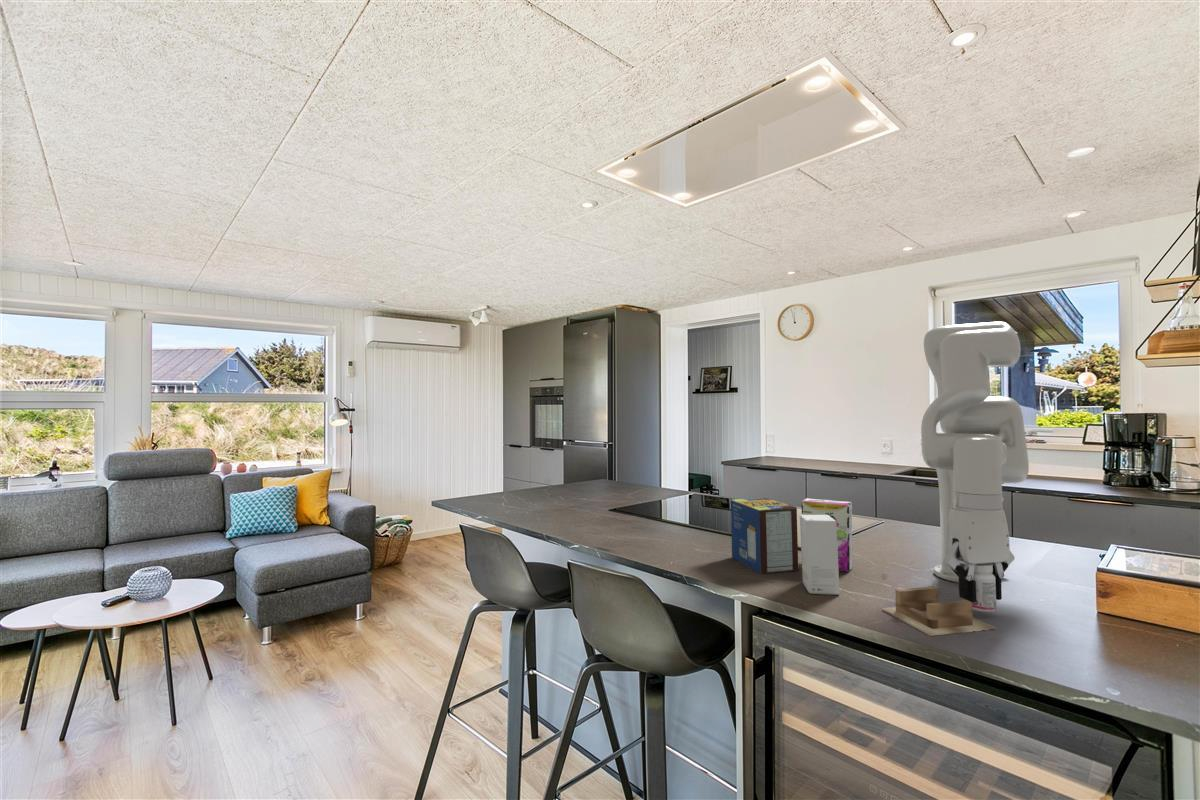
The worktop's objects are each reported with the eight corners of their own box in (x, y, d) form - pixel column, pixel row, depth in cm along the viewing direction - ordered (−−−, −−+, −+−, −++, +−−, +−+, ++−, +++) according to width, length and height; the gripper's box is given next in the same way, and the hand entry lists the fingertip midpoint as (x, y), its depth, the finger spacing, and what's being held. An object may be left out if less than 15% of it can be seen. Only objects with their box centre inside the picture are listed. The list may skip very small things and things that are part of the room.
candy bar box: (801, 566, 133) (800, 500, 134) (805, 561, 138) (804, 497, 138) (850, 573, 127) (849, 504, 128) (853, 567, 132) (852, 501, 132)
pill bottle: (959, 603, 103) (958, 559, 103) (982, 602, 103) (981, 558, 103) (978, 613, 98) (977, 567, 98) (1002, 611, 99) (1001, 566, 99)
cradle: (940, 605, 106) (939, 583, 106) (994, 629, 94) (994, 604, 94) (881, 610, 104) (881, 587, 104) (930, 635, 92) (929, 610, 92)
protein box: (766, 554, 145) (765, 497, 145) (799, 571, 130) (797, 507, 130) (730, 557, 142) (729, 499, 143) (759, 574, 127) (758, 509, 128)
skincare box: (840, 596, 112) (838, 521, 112) (806, 594, 113) (805, 520, 114) (831, 583, 120) (829, 513, 121) (800, 581, 122) (798, 513, 122)
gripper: (997, 496, 106) (1000, 588, 106) (923, 500, 103) (925, 595, 103) (1034, 503, 99) (1037, 602, 99) (955, 507, 96) (957, 609, 96)
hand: (980, 597), depth 101 cm, fingers closed on pill bottle, 4 cm apart
